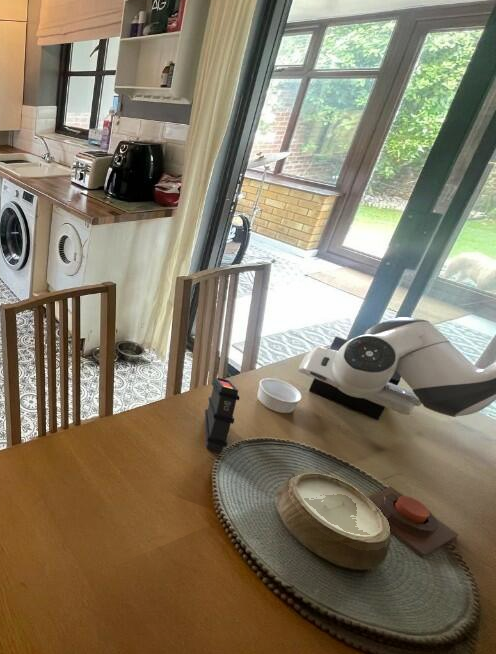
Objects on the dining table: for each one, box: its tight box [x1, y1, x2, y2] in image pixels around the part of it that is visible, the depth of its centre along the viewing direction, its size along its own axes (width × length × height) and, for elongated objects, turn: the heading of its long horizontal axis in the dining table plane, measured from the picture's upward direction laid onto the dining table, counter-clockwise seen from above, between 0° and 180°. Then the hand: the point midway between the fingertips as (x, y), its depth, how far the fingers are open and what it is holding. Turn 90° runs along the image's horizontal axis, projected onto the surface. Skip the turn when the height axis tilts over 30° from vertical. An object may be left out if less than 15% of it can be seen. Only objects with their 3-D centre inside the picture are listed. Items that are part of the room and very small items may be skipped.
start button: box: [395, 495, 430, 523], centre depth 73 cm, size 4×4×2 cm
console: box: [308, 336, 402, 421], centre depth 105 cm, size 12×14×12 cm
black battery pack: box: [204, 376, 240, 454], centre depth 93 cm, size 4×13×15 cm, turn 155°
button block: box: [367, 486, 459, 559], centre depth 74 cm, size 10×10×4 cm
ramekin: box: [257, 377, 303, 414], centre depth 103 cm, size 9×9×4 cm
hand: (349, 390), depth 98 cm, fingers closed
